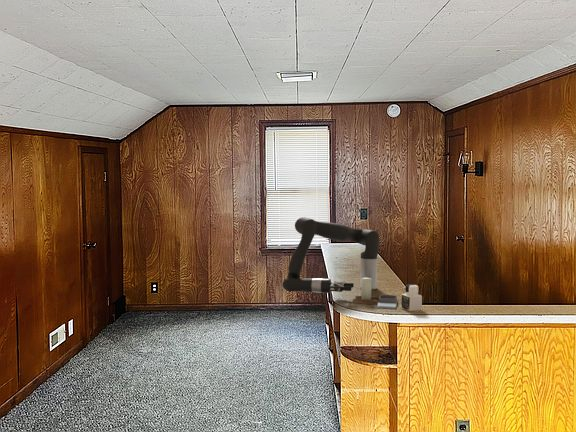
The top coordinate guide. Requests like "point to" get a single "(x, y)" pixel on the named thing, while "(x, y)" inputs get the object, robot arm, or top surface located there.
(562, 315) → the top surface
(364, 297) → the sage canister
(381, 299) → the charcoal pit
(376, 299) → the walnut channel
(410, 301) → the medicine bottle
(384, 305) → the slate-blue platform
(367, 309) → the top surface
